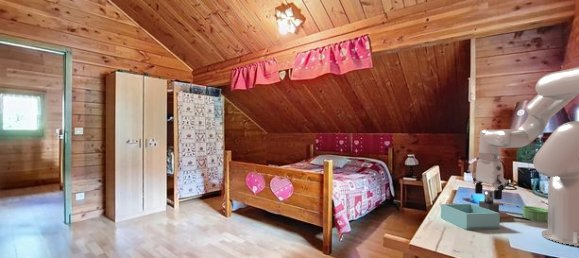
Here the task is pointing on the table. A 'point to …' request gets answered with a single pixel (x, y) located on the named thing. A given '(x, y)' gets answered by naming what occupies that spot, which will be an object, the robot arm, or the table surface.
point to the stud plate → (506, 217)
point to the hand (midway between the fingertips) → (487, 196)
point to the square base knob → (489, 202)
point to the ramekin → (535, 213)
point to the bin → (470, 216)
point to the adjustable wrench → (504, 203)
